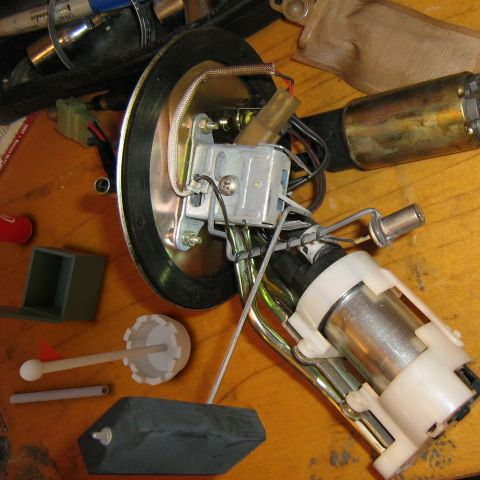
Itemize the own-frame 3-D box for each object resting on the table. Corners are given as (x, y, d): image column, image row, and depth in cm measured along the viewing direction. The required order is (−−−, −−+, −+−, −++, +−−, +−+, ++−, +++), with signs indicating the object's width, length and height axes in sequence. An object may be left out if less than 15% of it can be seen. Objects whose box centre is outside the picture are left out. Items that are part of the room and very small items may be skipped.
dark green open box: (65, 248, 104) (32, 245, 97) (106, 257, 100) (75, 255, 92) (53, 307, 104) (20, 309, 97) (94, 319, 99) (62, 322, 92)
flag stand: (206, 351, 88) (71, 380, 60) (163, 394, 91) (15, 440, 63) (171, 299, 92) (29, 304, 64) (131, 341, 95) (-22, 363, 67)
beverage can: (27, 212, 110) (-26, 203, 99) (38, 230, 108) (-15, 224, 97) (12, 230, 111) (-42, 224, 100) (23, 249, 109) (-31, 244, 98)
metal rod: (109, 393, 96) (101, 395, 94) (18, 402, 105) (9, 404, 103) (108, 384, 96) (100, 386, 94) (17, 393, 105) (9, 395, 103)
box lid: (-56, 296, 83) (-68, 327, 82) (-11, 311, 78) (-23, 343, 77) (18, 307, 96) (8, 333, 95) (60, 320, 91) (51, 348, 90)
